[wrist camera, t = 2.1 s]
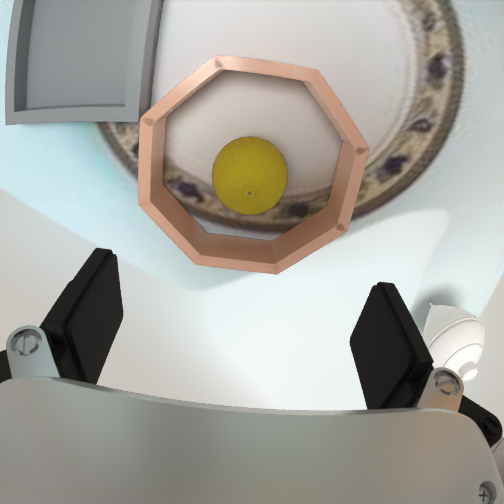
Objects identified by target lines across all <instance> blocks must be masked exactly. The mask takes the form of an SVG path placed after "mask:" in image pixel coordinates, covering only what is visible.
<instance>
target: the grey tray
mask: <svg viewBox="0 0 504 504" xmlns="http://www.w3.org/2000/svg"><path fill="white" fill-rule="evenodd" d="M162 5H163V0H14V5H13V10H12V17H11V24H10V31H9V40H8V50H7V63H6V84H5V118H6V125H16V124H30V123H48V122H81V121H111V122H140V118H141V117H142V116H143V115H144V114H145V113H146V112H147V111H148V110H149V109H150V106H151V94H152V83H153V72H154V63H155V55H156V46H157V39H158V32H159V25H160V18H161V12H162Z"/></svg>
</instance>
